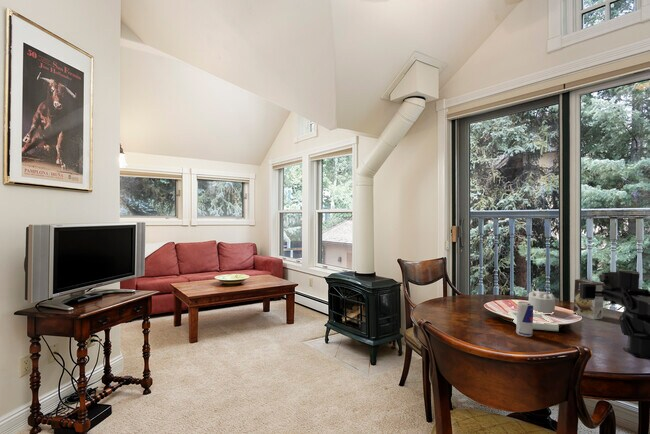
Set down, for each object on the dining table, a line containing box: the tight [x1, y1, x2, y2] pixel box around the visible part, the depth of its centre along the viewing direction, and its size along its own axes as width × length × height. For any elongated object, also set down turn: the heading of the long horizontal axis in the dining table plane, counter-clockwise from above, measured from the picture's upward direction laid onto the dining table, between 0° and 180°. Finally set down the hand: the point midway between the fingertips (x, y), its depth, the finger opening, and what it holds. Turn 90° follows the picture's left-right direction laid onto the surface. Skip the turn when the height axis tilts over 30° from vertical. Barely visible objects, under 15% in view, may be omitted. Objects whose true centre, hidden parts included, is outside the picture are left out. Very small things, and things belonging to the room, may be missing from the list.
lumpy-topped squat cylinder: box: [527, 290, 556, 313], centre depth 159 cm, size 10×13×9 cm
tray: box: [507, 311, 560, 332], centre depth 141 cm, size 14×14×2 cm
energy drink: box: [515, 301, 534, 338], centre depth 128 cm, size 5×5×12 cm
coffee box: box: [572, 278, 605, 320], centre depth 152 cm, size 9×6×16 cm
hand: (594, 287), depth 137 cm, fingers open, 9 cm apart
